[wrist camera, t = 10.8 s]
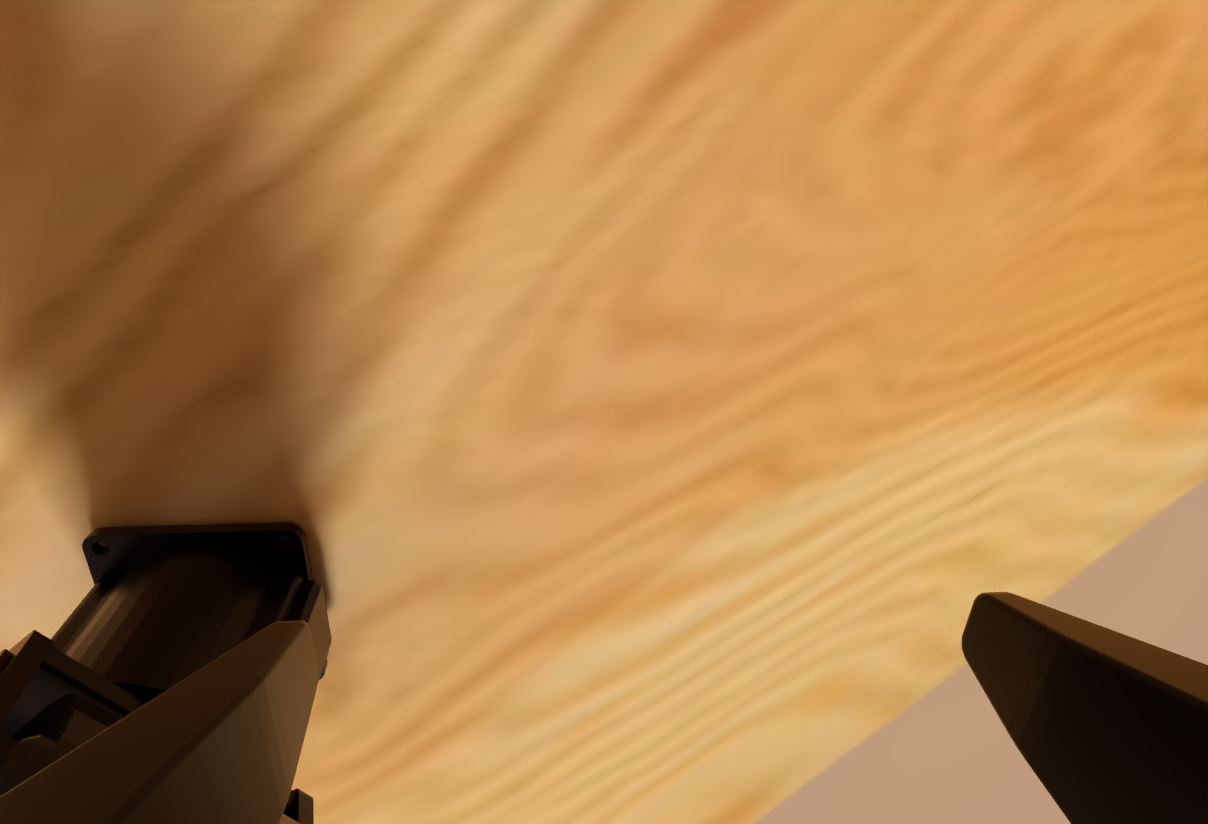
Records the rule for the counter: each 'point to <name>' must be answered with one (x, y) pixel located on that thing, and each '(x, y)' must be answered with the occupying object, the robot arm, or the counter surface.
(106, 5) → the counter surface
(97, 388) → the counter surface
